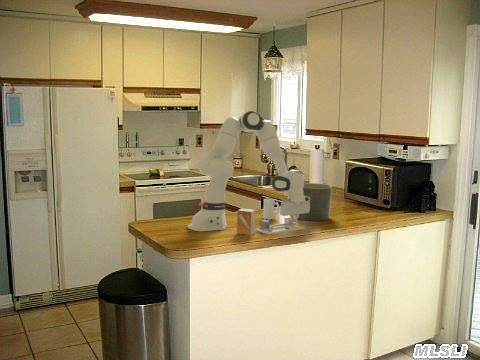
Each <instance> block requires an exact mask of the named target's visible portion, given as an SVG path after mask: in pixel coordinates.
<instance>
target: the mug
mask: <svg viewBox="0 0 480 360" xmlns="http://www.w3.org/2000/svg"><path fill="white" fill-rule="evenodd" d="M275 206H277V210H276V212H275ZM262 208H263V213H262V214H263V220H266V219H267V220H268V221H271V219H272V220H274V216H277V215H278V214H279V213H280V204H279V202H278V201H276V202H275V198H263V207H262Z"/></svg>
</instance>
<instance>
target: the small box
mask: <svg viewBox="0 0 480 360" xmlns="http://www.w3.org/2000/svg"><path fill="white" fill-rule="evenodd" d="M236 220H237V221H236V222H237V223H236V234H237V235H243V234H244V236H253V235H254V234H255V233H256V232H255V231H256V230H255V229H256V209H250V208H240V209H237V217H236Z"/></svg>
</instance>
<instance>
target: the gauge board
mask: <svg viewBox="0 0 480 360" xmlns="http://www.w3.org/2000/svg"><path fill="white" fill-rule="evenodd" d="M270 221H271V220H266V219H262V220H260V226H258V227H257V228H256V231H257V232H259V233H262V234H265V235H274V234H279V233H281V234H282V233H287V232H294V231H299V230H300V227H297V226H296V225H288V226H286V225H284V222H283V223H278V224H276V223H275V224H271V223H270Z"/></svg>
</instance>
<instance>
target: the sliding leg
mask: <svg viewBox="0 0 480 360" xmlns="http://www.w3.org/2000/svg"><path fill="white" fill-rule="evenodd" d="M283 223H284V225H286V226H288V225H295V226H298V224H297V223H296V222H293V218H292V217H290V216H284V222H283Z"/></svg>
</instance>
